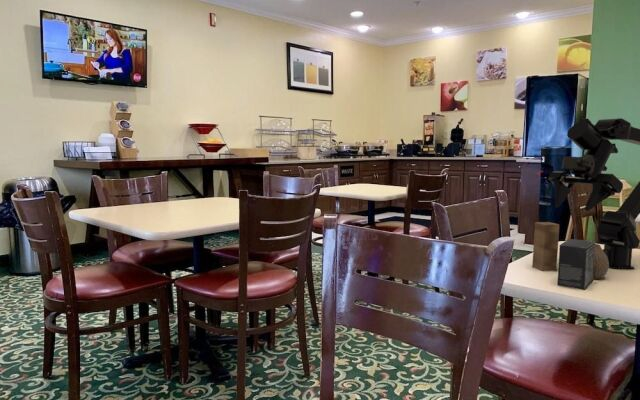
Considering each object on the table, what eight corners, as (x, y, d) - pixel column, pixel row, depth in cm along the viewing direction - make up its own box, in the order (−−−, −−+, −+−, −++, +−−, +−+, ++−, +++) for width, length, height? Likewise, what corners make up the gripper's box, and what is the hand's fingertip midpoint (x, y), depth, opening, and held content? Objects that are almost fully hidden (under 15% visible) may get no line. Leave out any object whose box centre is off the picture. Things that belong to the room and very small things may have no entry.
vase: (573, 273, 127) (575, 241, 126) (600, 274, 126) (603, 242, 125) (584, 280, 120) (586, 246, 119) (612, 281, 119) (615, 247, 118)
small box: (565, 276, 123) (567, 237, 122) (593, 281, 119) (596, 241, 118) (555, 285, 115) (558, 243, 114) (585, 290, 111) (588, 247, 110)
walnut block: (546, 266, 134) (549, 222, 132) (556, 270, 129) (559, 224, 128) (532, 267, 133) (535, 222, 132) (542, 271, 129) (545, 224, 127)
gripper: (549, 144, 133) (525, 191, 132) (611, 142, 116) (584, 196, 114) (571, 164, 137) (548, 210, 136) (635, 166, 120) (609, 218, 119)
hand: (570, 208), depth 126 cm, fingers open, 9 cm apart
